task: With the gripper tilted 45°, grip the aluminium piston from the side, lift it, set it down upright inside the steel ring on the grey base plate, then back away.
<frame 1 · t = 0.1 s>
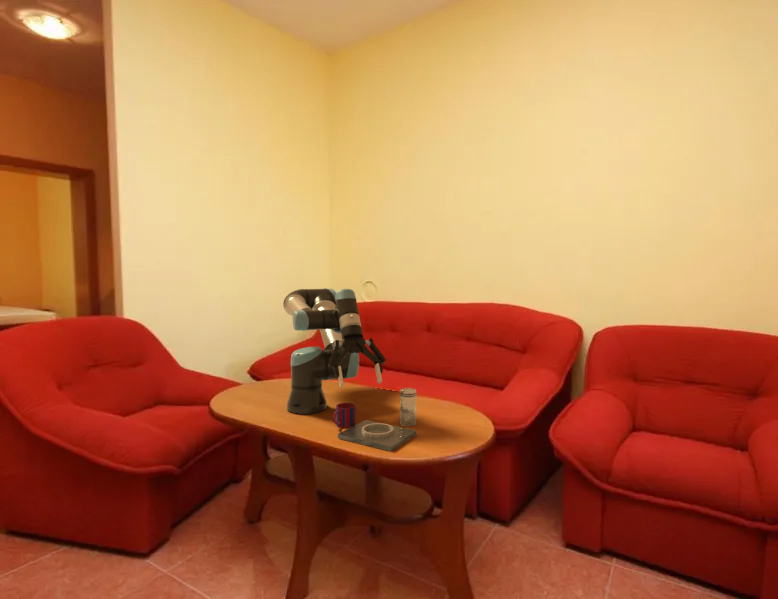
hand: (361, 384, 159), 15 cm above the table, tool tilted 35°, fingers open, 13 cm apart
grey base plate: (377, 436, 152), on the table
piston: (408, 423, 164), on the table
mug: (342, 426, 163), on the table
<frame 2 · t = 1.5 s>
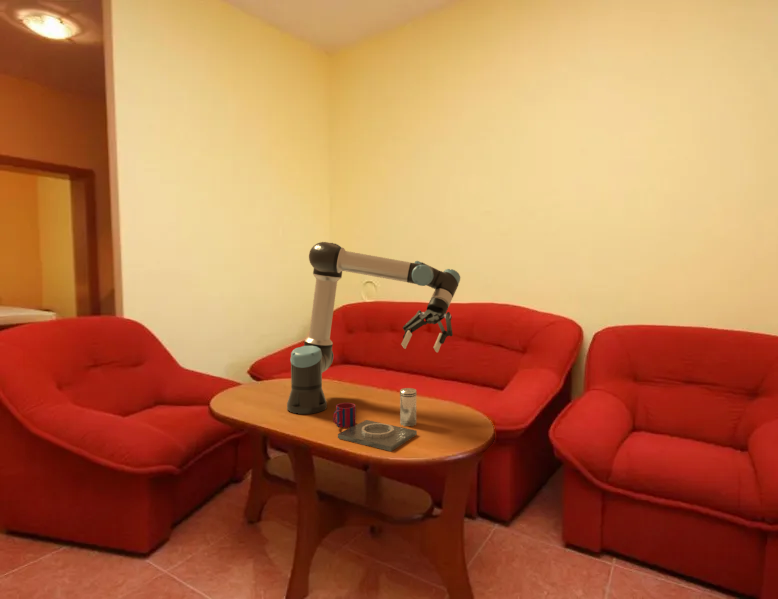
hand: (419, 348, 169), 26 cm above the table, tool tilted 45°, fingers open, 13 cm apart
nothing on the table moved.
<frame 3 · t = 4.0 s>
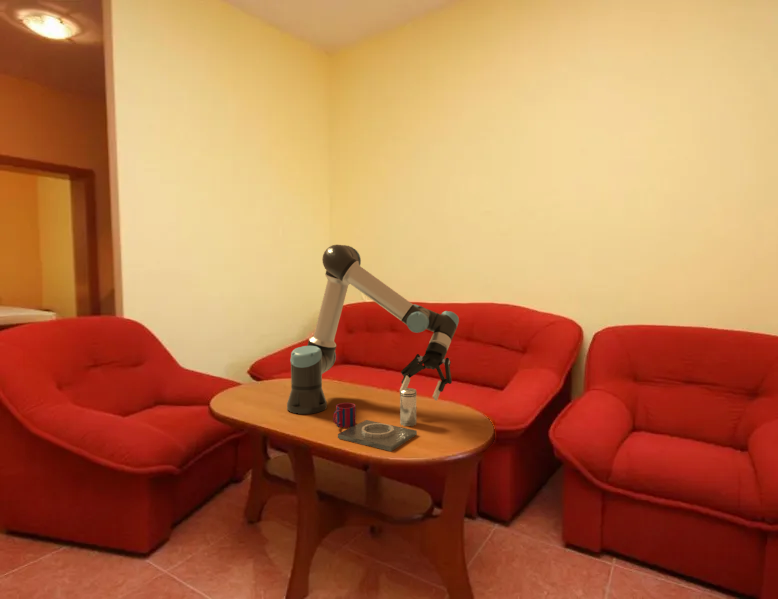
hand: (417, 395, 167), 9 cm above the table, tool tilted 45°, fingers open, 13 cm apart
nothing on the table moved.
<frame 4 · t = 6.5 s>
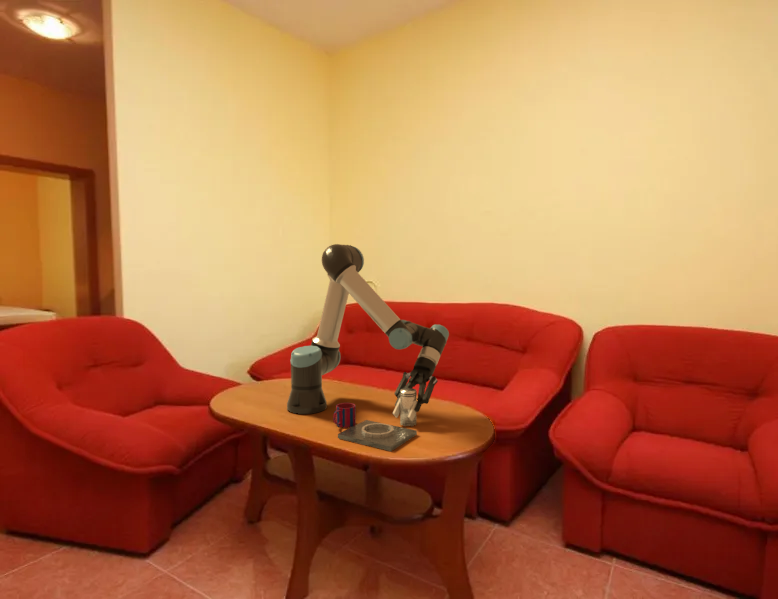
hand: (402, 417, 161), 3 cm above the table, tool tilted 45°, fingers closed on piston, 5 cm apart
piston: (408, 423, 164), on the table, touching gripper
everything else where it was.
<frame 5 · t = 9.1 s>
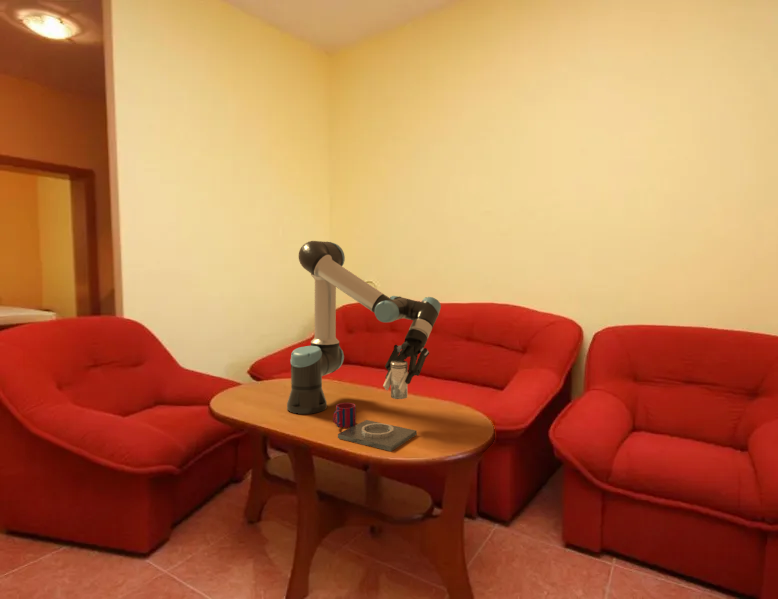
hand: (393, 389, 157), 14 cm above the table, tool tilted 45°, fingers closed on piston, 5 cm apart
piston: (399, 396, 160), point 11 cm above the table, touching gripper
everything else where it was.
when the fingers open (6 cm above the table, at t = 11.8 s): piston stays where it is, resting on grey base plate.
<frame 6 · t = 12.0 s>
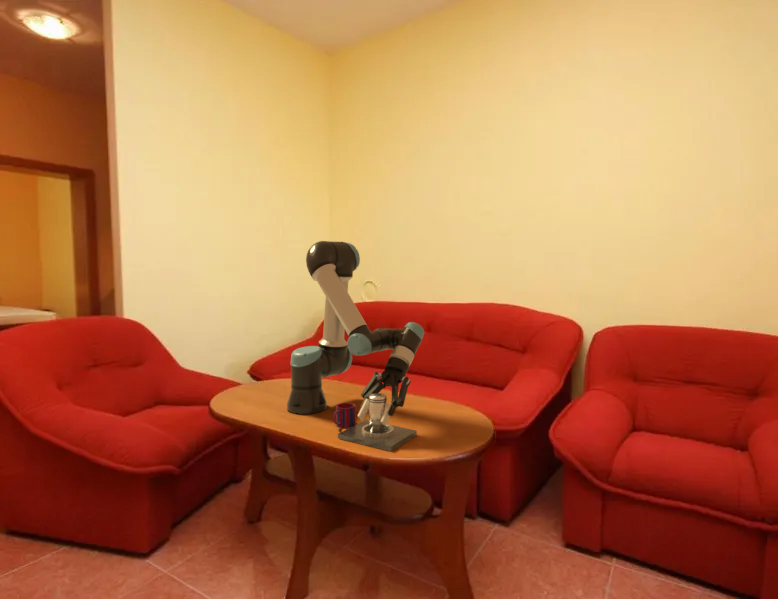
hand: (371, 420, 149), 6 cm above the table, tool tilted 45°, fingers open, 8 cm apart
piston: (377, 432, 152), point 2 cm above the table, touching grey base plate
everything else where it was.
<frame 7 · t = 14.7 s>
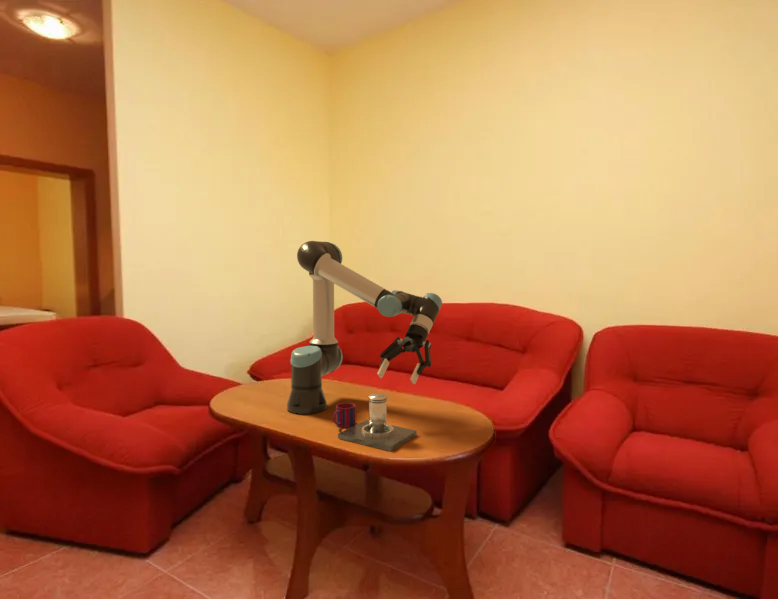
hand: (395, 378, 159), 17 cm above the table, tool tilted 45°, fingers open, 13 cm apart
nothing on the table moved.
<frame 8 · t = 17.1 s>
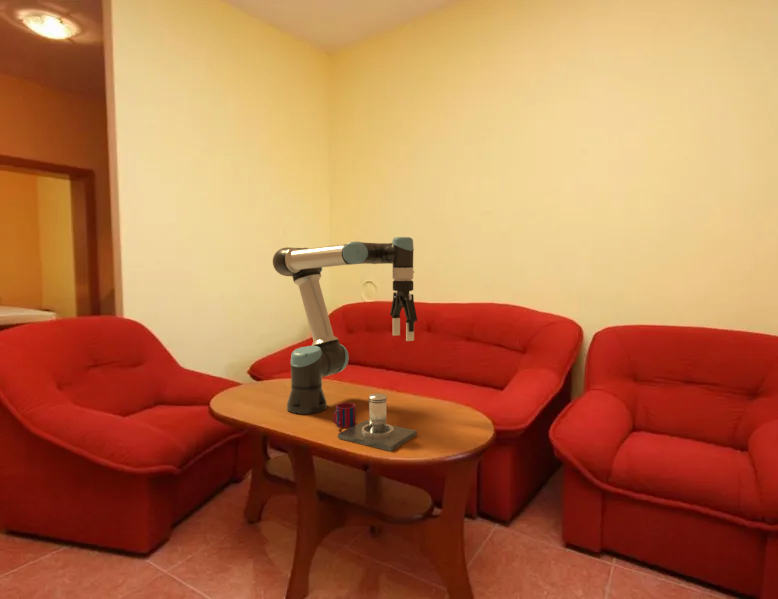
hand: (402, 338, 172), 29 cm above the table, tool pointing down, fingers open, 13 cm apart
nothing on the table moved.
at the end: piston 0.0 cm off-centre on the grey base plate, point 1.5 cm above the grey base plate's base; piston tilted 0°; the gripper is holding nothing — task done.
